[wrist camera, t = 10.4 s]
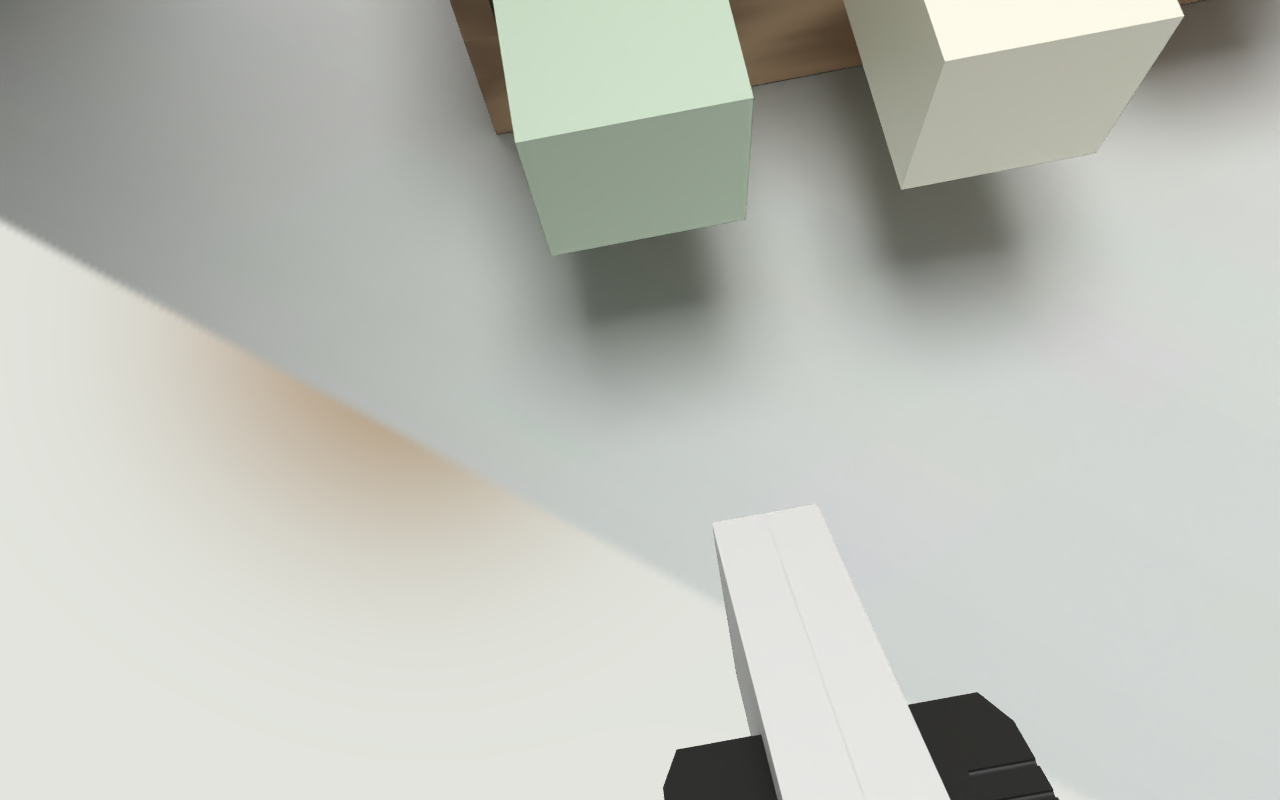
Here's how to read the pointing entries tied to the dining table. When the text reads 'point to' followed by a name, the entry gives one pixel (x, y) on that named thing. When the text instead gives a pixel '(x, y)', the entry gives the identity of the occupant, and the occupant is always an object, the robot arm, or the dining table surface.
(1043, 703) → the dining table surface
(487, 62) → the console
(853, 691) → the robot arm
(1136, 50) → the key cream
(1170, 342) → the dining table surface
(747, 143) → the key sage
